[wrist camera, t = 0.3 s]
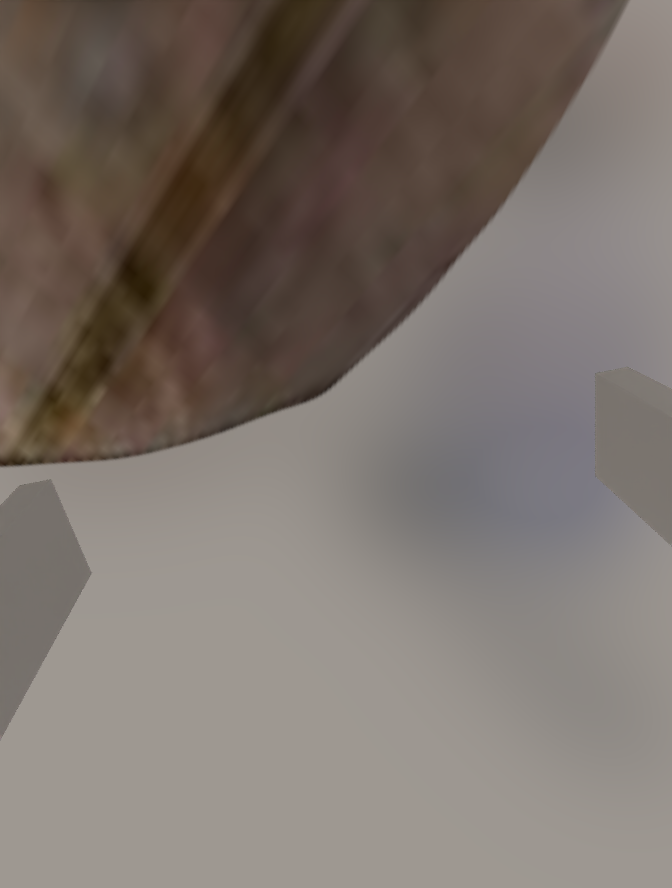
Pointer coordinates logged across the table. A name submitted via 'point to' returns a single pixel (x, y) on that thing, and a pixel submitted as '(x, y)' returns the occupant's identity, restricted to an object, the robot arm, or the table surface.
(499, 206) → the table surface
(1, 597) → the robot arm
